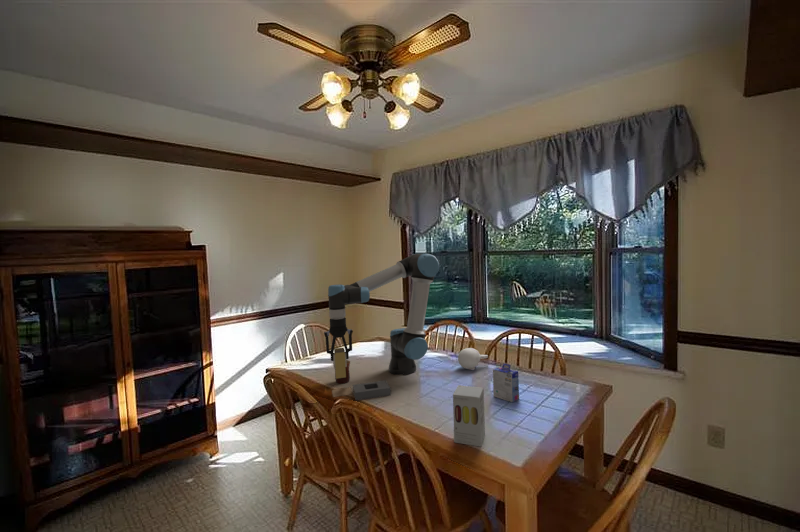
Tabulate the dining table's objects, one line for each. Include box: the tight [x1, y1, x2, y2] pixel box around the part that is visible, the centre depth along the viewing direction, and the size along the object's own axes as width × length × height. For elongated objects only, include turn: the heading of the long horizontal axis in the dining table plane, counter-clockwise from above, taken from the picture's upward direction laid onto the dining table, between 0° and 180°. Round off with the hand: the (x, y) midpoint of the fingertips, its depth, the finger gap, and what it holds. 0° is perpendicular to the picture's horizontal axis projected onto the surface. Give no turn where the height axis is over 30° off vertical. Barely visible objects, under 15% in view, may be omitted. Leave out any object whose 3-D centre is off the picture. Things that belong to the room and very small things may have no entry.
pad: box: [331, 386, 353, 398], centre depth 171 cm, size 9×9×1 cm
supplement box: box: [452, 384, 486, 448], centre depth 125 cm, size 10×9×17 cm
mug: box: [334, 359, 351, 385], centre depth 184 cm, size 12×9×10 cm
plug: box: [333, 347, 346, 379], centre depth 170 cm, size 4×4×13 cm
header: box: [352, 379, 392, 401], centre depth 167 cm, size 16×10×4 cm, turn 104°
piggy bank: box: [457, 347, 489, 371], centre depth 198 cm, size 12×12×15 cm
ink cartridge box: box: [492, 362, 520, 403], centre depth 156 cm, size 10×6×14 cm, turn 42°
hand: (340, 366), depth 170 cm, fingers closed on plug, 4 cm apart
